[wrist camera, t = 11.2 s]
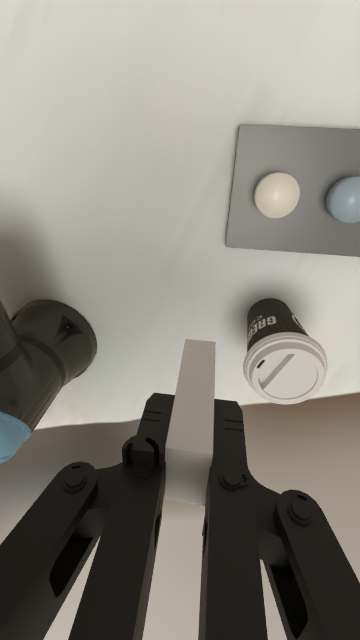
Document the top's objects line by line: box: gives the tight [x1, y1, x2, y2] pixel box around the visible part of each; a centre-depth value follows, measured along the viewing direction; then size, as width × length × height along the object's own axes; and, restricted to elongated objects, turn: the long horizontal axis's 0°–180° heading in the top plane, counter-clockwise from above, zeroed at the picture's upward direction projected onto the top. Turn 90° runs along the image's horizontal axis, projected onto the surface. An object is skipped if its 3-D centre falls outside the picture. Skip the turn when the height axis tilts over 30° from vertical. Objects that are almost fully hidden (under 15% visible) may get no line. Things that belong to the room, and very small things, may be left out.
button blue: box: [326, 176, 360, 223], centre depth 35 cm, size 5×5×4 cm
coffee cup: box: [243, 299, 327, 404], centre depth 41 cm, size 10×10×15 cm
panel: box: [225, 125, 360, 257], centre depth 37 cm, size 27×14×2 cm, turn 87°
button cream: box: [254, 172, 300, 218], centre depth 36 cm, size 5×5×4 cm
